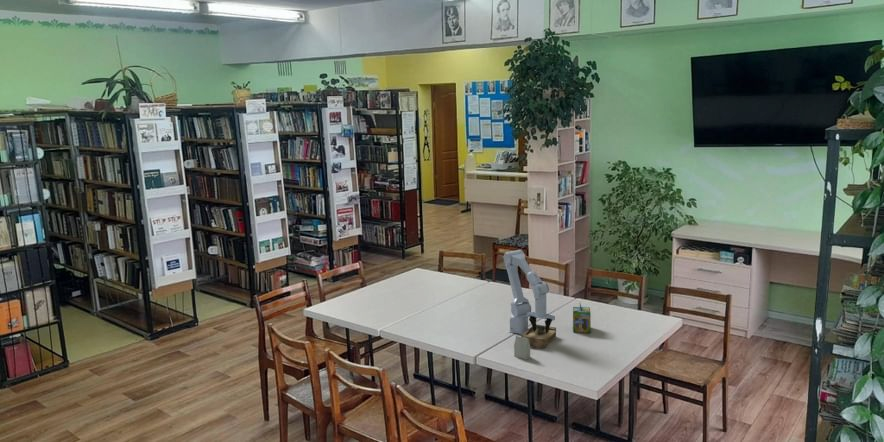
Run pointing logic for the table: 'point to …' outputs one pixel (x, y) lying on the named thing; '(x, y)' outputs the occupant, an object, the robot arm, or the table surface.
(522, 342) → the grey upright block
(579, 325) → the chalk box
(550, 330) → the lid
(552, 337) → the box
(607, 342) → the table surface
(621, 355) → the table surface
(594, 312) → the table surface
